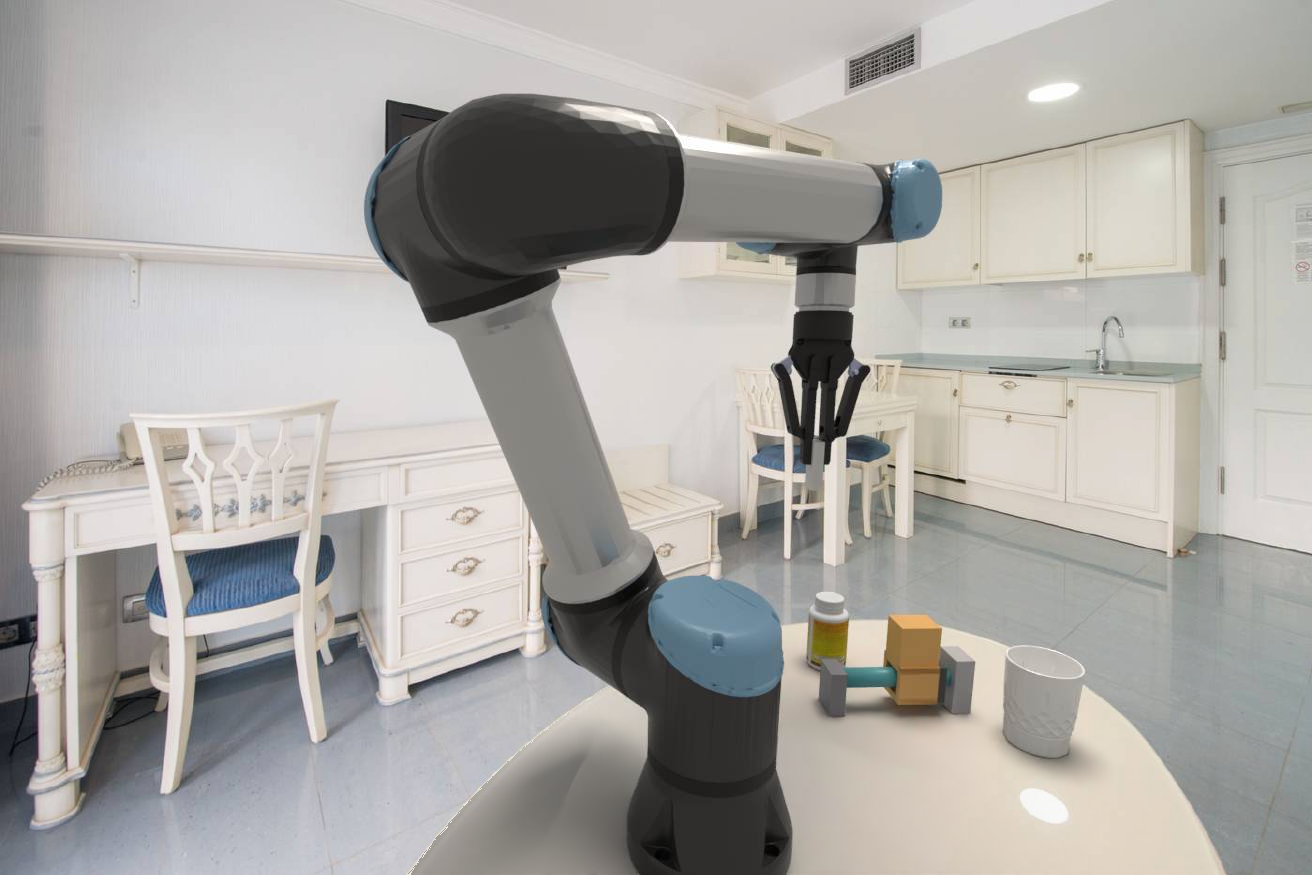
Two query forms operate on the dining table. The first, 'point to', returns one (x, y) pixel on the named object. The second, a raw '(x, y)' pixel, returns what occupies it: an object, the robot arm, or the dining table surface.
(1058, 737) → the white cup
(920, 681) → the sleeve
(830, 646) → the supplement bottle
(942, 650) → the teal axle dumbbell
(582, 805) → the dining table surface
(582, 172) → the robot arm
